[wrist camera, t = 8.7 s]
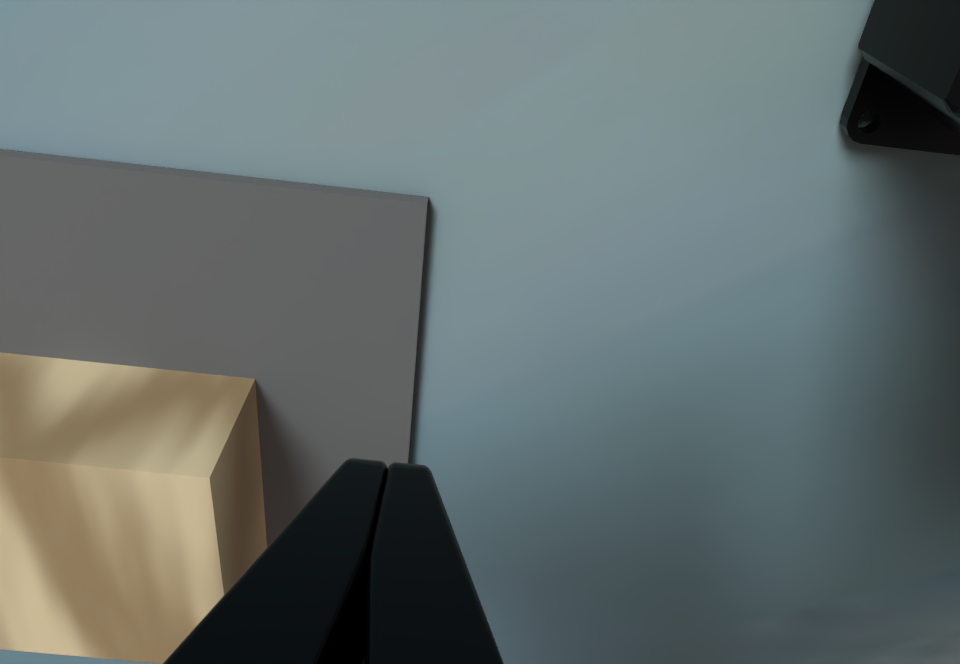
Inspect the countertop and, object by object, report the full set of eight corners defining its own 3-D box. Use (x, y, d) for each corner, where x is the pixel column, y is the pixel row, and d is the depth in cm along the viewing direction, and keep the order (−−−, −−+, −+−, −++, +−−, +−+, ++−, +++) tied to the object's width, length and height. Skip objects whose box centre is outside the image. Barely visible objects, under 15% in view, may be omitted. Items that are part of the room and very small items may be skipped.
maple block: (209, 477, 18) (-213, 436, 18) (233, 669, 23) (-106, 639, 22) (255, 378, 22) (-101, 341, 21) (268, 563, 26) (-27, 535, 26)
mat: (428, 197, 19) (427, 203, 19) (393, 666, 30) (391, 675, 30) (-187, 128, 18) (-199, 133, 18) (7, 631, 29) (1, 640, 29)
